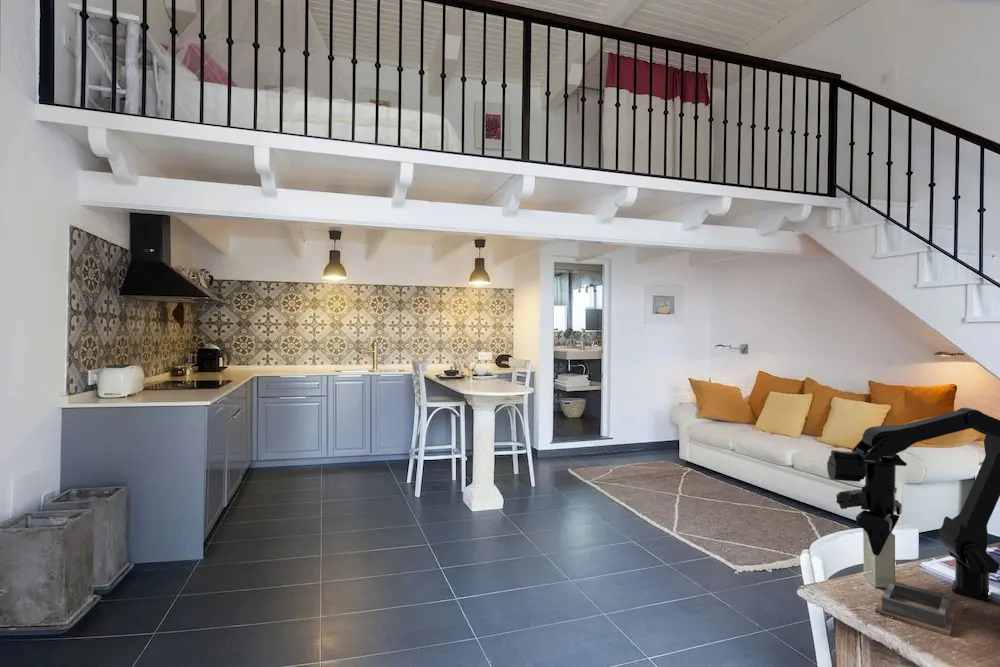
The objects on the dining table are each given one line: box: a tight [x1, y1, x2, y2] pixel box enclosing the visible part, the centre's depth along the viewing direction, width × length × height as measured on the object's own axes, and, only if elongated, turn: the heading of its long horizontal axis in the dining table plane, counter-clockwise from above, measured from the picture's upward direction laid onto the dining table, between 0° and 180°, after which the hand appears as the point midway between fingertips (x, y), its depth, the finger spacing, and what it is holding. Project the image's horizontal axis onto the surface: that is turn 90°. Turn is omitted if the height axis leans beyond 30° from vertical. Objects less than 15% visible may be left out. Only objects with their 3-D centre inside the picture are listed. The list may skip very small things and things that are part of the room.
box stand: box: [874, 582, 956, 637], centre depth 113 cm, size 12×12×3 cm
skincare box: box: [862, 528, 897, 589], centre depth 126 cm, size 6×4×12 cm
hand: (879, 549), depth 126 cm, fingers closed on skincare box, 7 cm apart
